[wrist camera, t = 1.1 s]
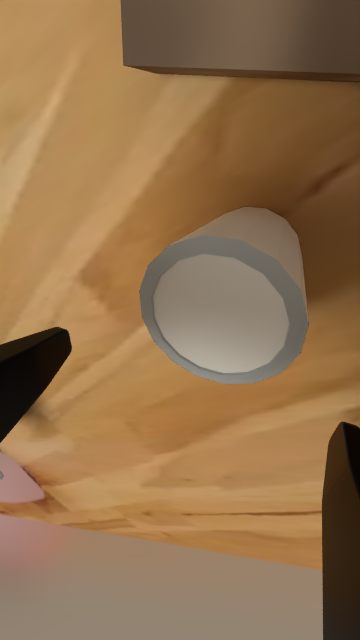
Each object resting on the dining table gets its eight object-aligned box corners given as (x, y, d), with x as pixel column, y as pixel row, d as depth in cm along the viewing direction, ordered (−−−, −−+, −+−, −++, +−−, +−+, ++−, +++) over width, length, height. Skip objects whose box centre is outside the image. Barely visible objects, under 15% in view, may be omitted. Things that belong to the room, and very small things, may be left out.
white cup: (339, 215, 14) (347, 275, 9) (284, 324, 19) (268, 408, 13) (207, 178, 16) (146, 210, 10) (184, 287, 20) (132, 350, 15)
